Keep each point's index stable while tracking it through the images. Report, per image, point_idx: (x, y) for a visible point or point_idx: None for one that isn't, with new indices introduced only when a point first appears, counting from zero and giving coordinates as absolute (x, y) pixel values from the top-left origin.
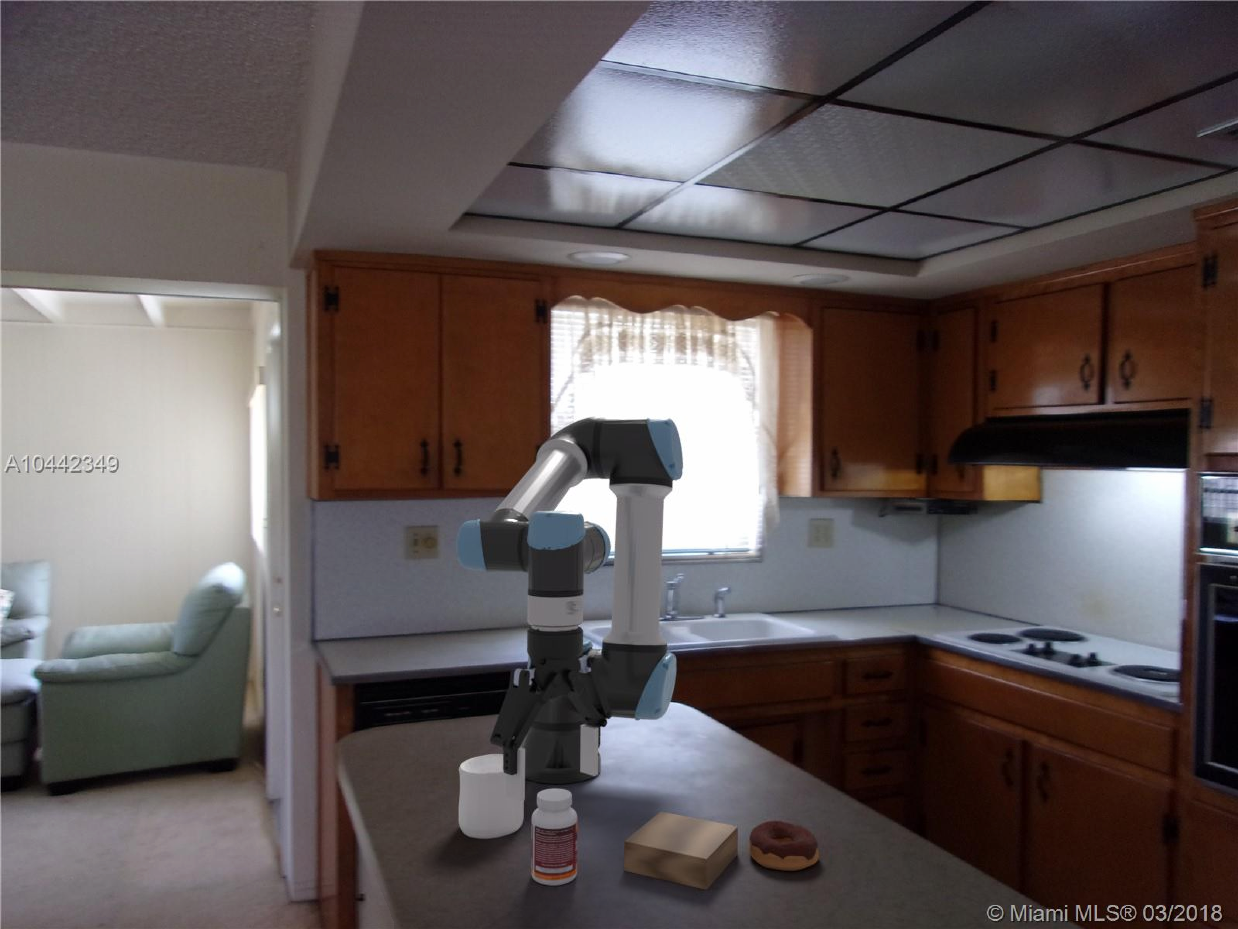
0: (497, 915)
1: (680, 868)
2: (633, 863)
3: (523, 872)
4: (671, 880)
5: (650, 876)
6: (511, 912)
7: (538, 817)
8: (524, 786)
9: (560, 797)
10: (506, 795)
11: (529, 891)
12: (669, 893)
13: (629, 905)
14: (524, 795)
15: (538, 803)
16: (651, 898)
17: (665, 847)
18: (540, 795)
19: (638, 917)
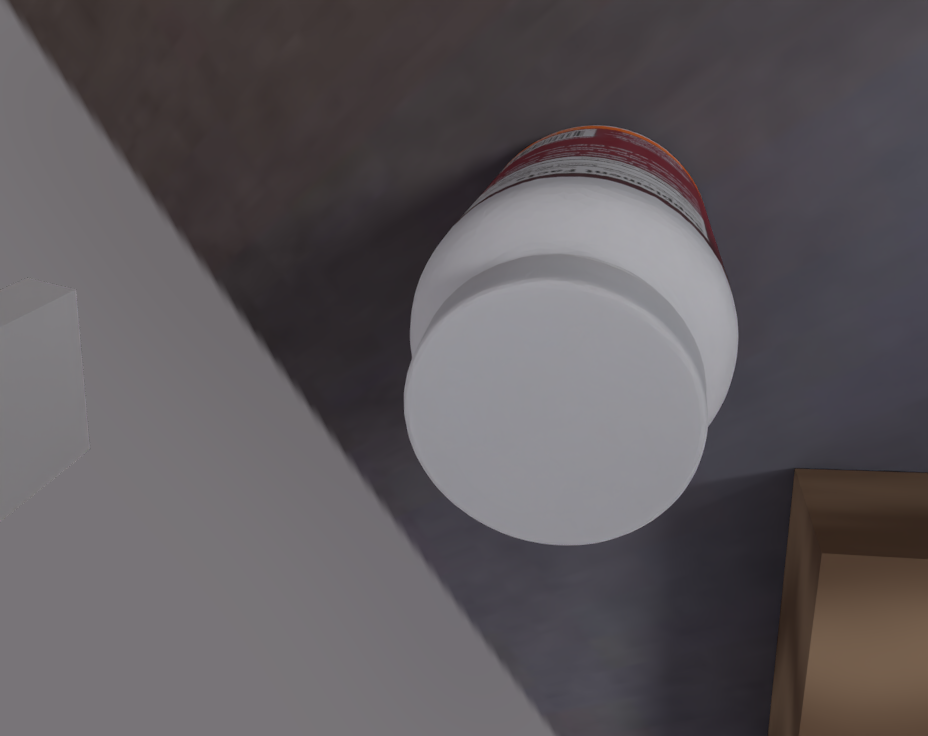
0: (204, 225)
1: (783, 718)
2: (799, 531)
3: (556, 71)
4: (777, 645)
5: (784, 572)
6: (252, 258)
7: (421, 315)
8: (4, 515)
9: (517, 493)
10: (19, 285)
11: (418, 218)
12: (685, 654)
13: (535, 575)
14: (63, 469)
15: (426, 329)
16: (619, 617)
17: (831, 715)
18: (457, 341)
19: (481, 619)
